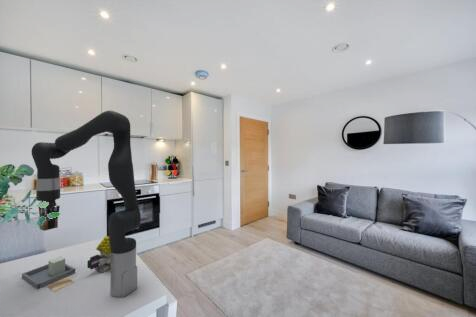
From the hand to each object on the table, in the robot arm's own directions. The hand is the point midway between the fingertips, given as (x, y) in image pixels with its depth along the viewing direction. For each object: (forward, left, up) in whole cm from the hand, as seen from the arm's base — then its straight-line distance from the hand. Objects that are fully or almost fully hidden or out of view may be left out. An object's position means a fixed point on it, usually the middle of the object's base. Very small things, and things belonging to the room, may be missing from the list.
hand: (48, 227), depth 86 cm
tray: (+5, -2, -24) cm, 25 cm away
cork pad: (-7, -1, -24) cm, 25 cm away
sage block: (+5, -5, -24) cm, 25 cm away
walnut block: (0, 0, 0) cm, 0 cm away
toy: (-11, -16, -25) cm, 31 cm away
